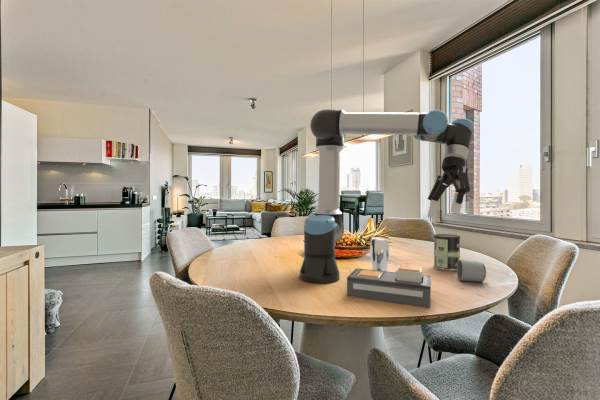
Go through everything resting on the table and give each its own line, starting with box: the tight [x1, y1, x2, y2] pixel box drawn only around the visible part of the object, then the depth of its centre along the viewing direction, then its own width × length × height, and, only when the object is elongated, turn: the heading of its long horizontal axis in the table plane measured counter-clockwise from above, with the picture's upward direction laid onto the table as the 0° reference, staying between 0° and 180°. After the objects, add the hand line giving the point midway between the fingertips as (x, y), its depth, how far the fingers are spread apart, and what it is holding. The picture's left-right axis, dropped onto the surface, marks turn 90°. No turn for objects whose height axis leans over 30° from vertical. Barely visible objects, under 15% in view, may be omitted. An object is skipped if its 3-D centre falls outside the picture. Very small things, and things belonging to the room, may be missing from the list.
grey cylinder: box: [456, 259, 487, 283], centre depth 114 cm, size 11×8×8 cm
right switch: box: [395, 263, 423, 283], centre depth 94 cm, size 7×7×4 cm
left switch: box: [357, 269, 383, 279], centre depth 99 cm, size 7×7×4 cm
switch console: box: [346, 268, 432, 308], centre depth 96 cm, size 24×12×6 cm, turn 66°
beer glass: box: [369, 237, 390, 272], centre depth 116 cm, size 7×7×15 cm
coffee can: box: [433, 233, 461, 272], centre depth 132 cm, size 10×10×14 cm
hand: (442, 215), depth 106 cm, fingers open, 13 cm apart
